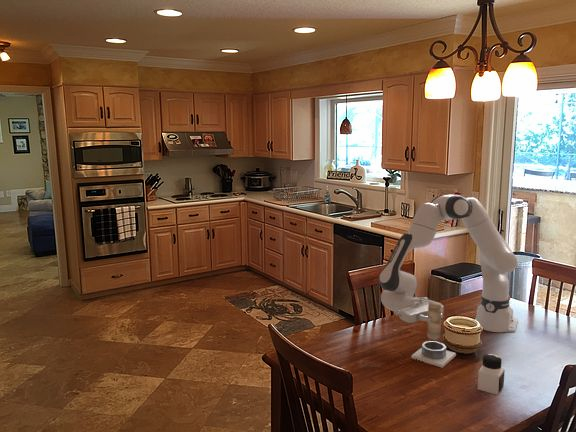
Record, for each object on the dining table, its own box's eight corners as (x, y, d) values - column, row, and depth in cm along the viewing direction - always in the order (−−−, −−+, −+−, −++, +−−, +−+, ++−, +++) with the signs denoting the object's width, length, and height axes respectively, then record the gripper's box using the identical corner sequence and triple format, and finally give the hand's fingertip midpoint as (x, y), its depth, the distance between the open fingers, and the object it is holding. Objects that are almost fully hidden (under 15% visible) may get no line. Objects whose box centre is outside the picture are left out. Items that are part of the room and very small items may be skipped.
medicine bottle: (498, 395, 165) (500, 363, 163) (477, 389, 169) (478, 357, 167) (503, 386, 171) (505, 355, 169) (483, 381, 175) (484, 350, 173)
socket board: (425, 347, 204) (426, 336, 203) (455, 355, 195) (456, 344, 194) (411, 358, 194) (411, 346, 193) (442, 367, 185) (442, 356, 185)
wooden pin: (430, 333, 197) (431, 301, 194) (442, 336, 193) (443, 303, 191) (425, 337, 193) (426, 304, 191) (437, 340, 190) (438, 307, 187)
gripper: (392, 305, 197) (417, 316, 185) (428, 296, 207) (454, 305, 195) (392, 320, 198) (417, 331, 186) (428, 310, 208) (453, 320, 196)
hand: (436, 318), depth 191 cm, fingers closed on wooden pin, 5 cm apart
